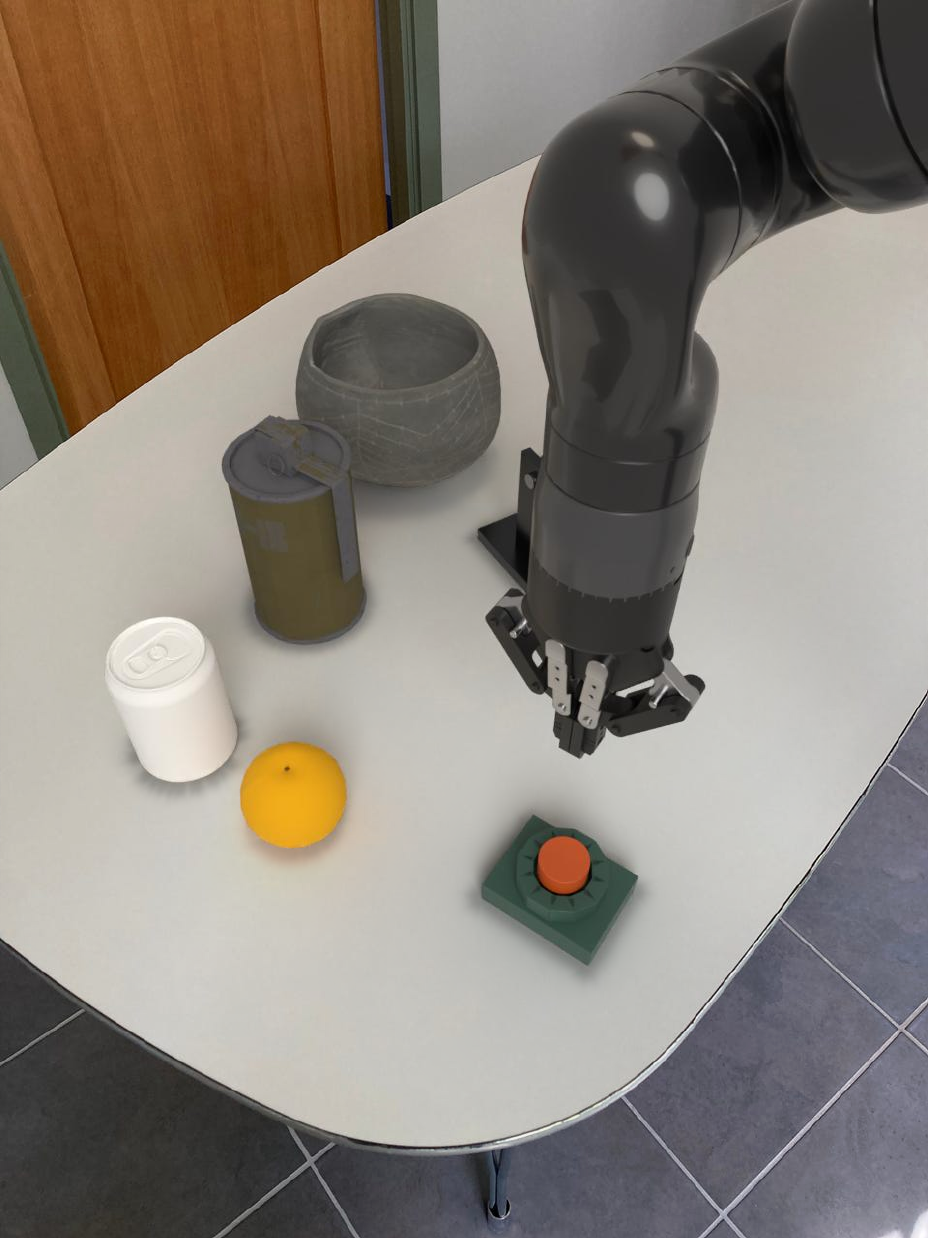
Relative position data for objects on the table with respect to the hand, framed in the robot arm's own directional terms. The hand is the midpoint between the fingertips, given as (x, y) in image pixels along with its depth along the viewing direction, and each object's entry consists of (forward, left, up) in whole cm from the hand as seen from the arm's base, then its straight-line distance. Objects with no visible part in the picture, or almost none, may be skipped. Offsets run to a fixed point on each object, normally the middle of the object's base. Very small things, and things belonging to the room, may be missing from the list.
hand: (577, 744), depth 58 cm
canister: (+33, -11, -18) cm, 39 cm away
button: (-1, +1, -14) cm, 14 cm away
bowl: (+39, -33, -18) cm, 54 cm away
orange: (+19, +7, -18) cm, 27 cm away
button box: (-1, +1, -18) cm, 18 cm away
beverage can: (+31, +7, -18) cm, 37 cm away
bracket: (+18, -29, -18) cm, 38 cm away
